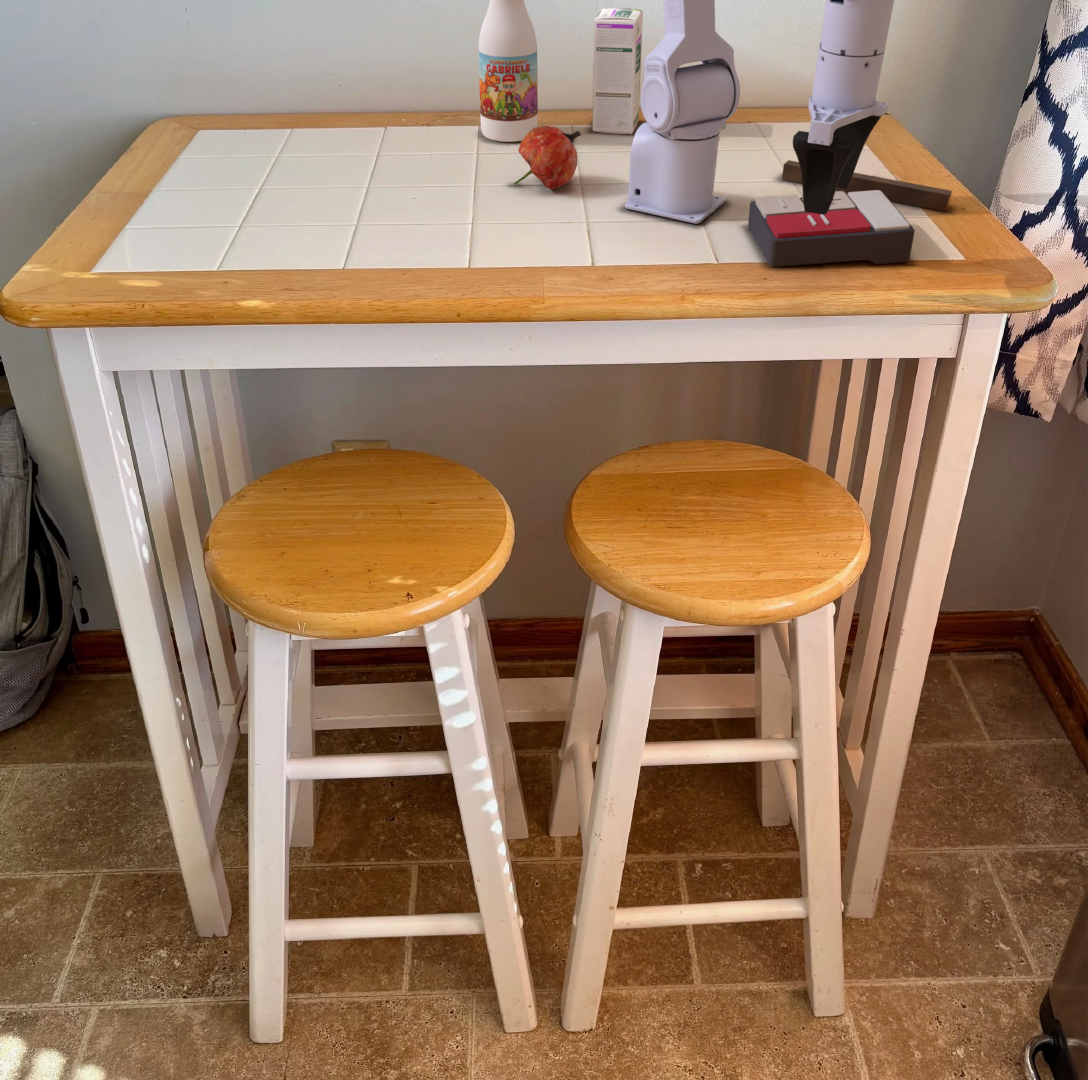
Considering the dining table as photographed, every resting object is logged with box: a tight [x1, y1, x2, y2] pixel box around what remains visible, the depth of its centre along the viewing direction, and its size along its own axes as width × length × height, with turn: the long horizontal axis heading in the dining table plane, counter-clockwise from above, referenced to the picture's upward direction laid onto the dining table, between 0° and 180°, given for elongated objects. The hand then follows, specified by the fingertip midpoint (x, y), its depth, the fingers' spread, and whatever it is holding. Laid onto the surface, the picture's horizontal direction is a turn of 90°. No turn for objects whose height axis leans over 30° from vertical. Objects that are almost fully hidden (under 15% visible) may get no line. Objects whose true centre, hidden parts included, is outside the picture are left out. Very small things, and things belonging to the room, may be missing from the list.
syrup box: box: [591, 7, 644, 135], centre depth 140 cm, size 6×6×14 cm
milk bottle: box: [478, 0, 539, 143], centre depth 136 cm, size 8×8×20 cm
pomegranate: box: [513, 124, 583, 190], centre depth 125 cm, size 7×7×10 cm
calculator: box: [747, 190, 916, 268], centre depth 113 cm, size 11×4×15 cm
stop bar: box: [781, 159, 953, 212], centre depth 125 cm, size 20×2×2 cm, turn 60°
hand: (826, 199), depth 102 cm, fingers open, 7 cm apart
